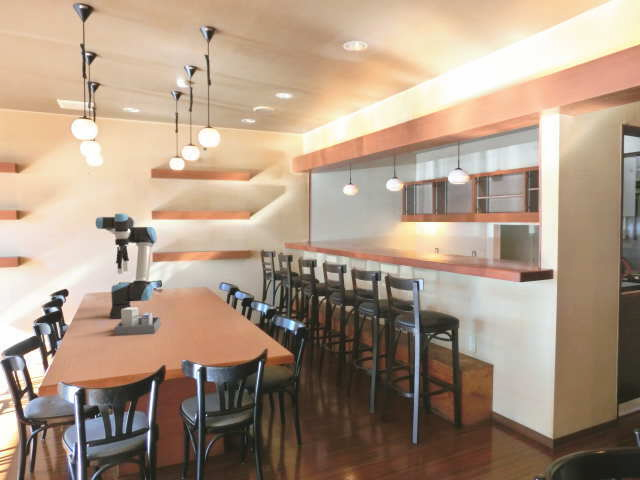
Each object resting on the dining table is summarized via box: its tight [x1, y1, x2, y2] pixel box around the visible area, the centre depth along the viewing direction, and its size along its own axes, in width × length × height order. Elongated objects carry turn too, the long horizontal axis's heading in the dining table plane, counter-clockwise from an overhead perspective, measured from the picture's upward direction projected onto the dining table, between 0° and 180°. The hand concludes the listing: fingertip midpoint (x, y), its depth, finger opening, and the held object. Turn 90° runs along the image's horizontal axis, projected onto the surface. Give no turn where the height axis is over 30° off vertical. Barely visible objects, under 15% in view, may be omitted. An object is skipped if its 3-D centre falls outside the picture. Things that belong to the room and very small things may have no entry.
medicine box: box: [141, 312, 153, 325], centre depth 272 cm, size 8×4×9 cm, turn 6°
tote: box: [114, 316, 162, 337], centre depth 271 cm, size 22×22×5 cm
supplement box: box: [120, 306, 140, 326], centre depth 270 cm, size 7×7×13 cm
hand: (122, 272), depth 276 cm, fingers open, 13 cm apart
